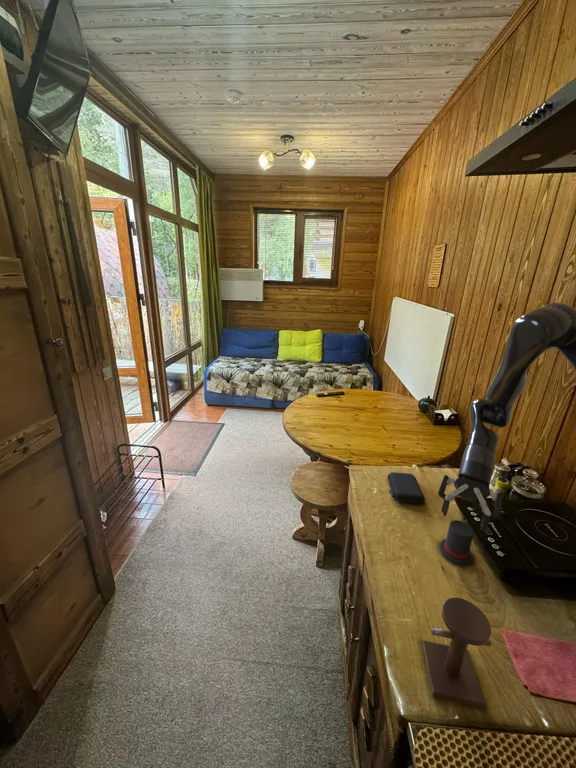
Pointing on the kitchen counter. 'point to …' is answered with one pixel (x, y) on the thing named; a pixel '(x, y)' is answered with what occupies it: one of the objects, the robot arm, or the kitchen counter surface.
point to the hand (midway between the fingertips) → (462, 522)
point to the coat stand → (457, 653)
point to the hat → (458, 543)
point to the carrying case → (405, 488)
